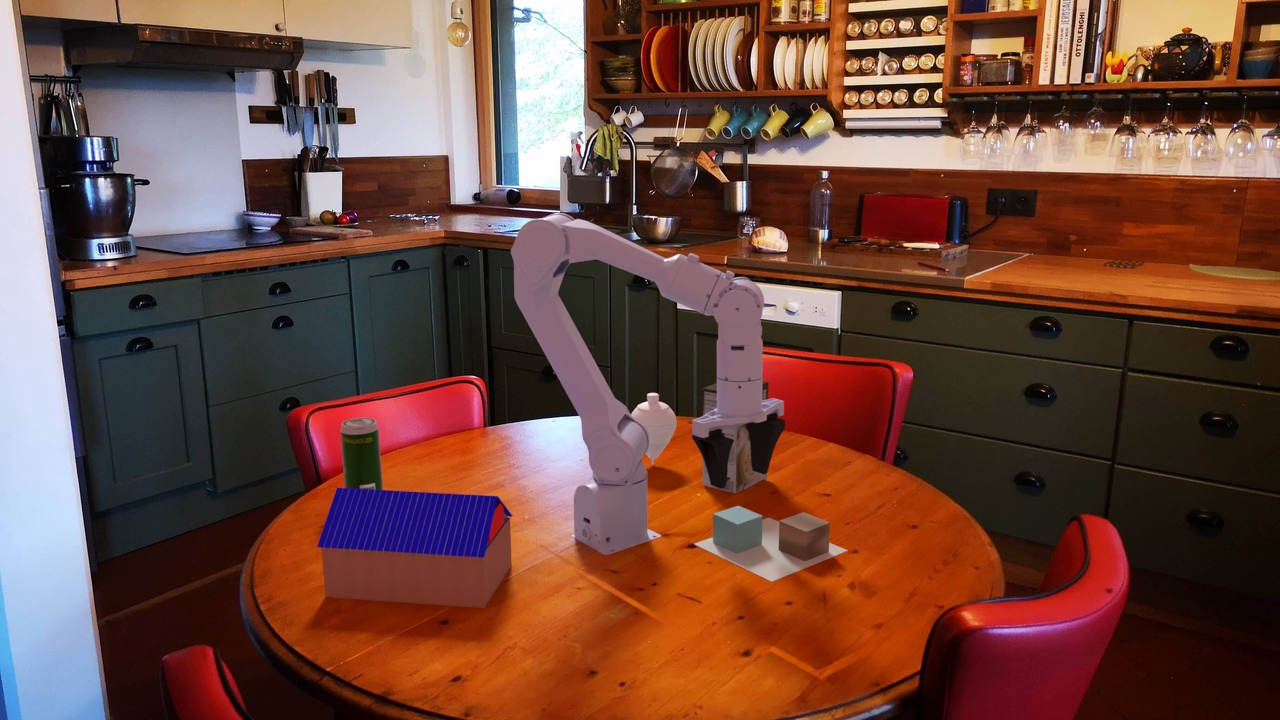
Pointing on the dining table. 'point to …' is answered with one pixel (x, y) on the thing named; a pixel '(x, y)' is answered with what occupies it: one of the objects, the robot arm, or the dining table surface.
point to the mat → (768, 555)
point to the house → (415, 547)
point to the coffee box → (734, 448)
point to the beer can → (361, 454)
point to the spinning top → (656, 423)
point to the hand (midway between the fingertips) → (739, 478)
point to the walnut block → (804, 536)
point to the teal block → (737, 529)
